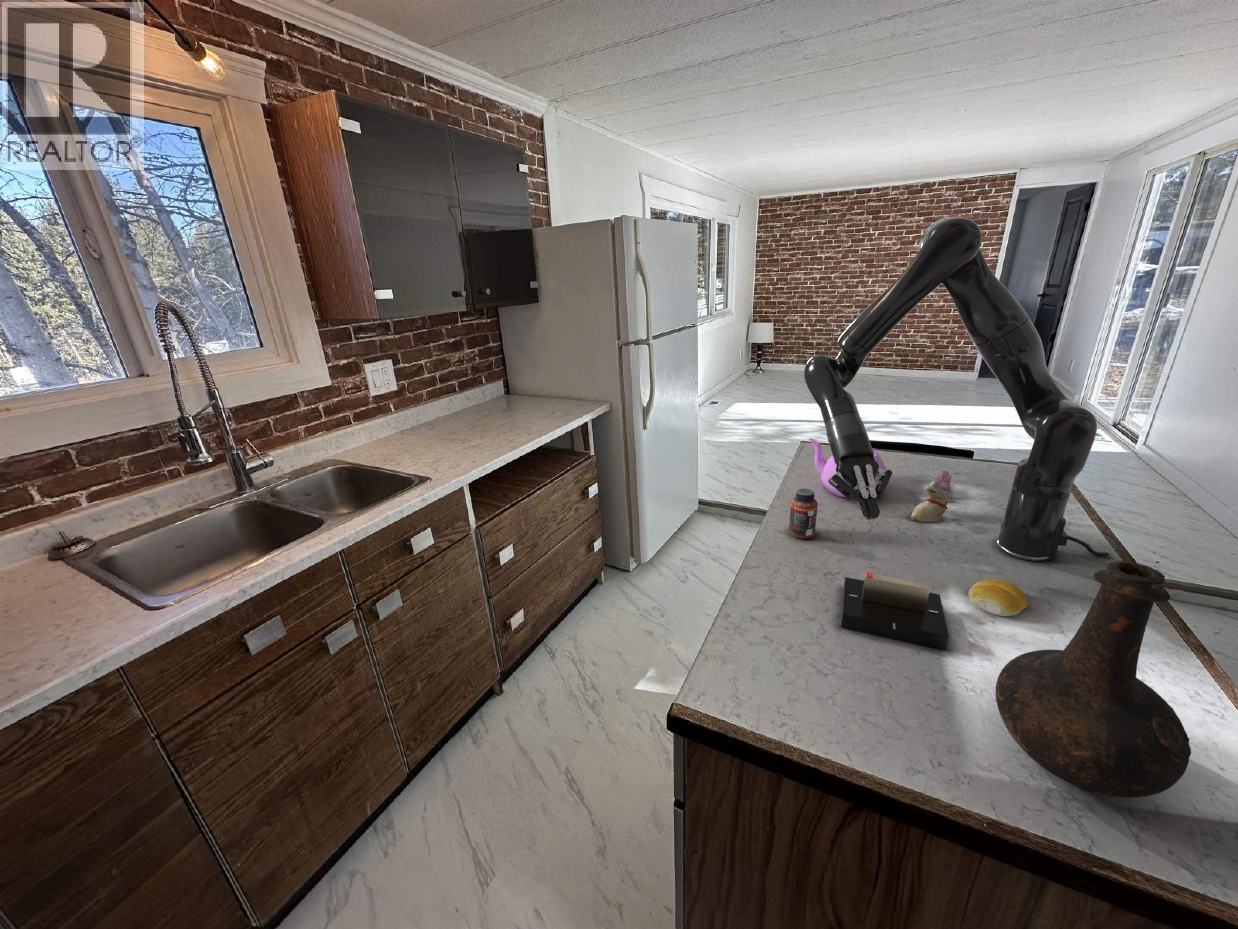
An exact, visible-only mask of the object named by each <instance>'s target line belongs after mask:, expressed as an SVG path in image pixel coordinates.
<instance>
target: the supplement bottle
mask: <svg viewBox="0 0 1238 929" xmlns="http://www.w3.org/2000/svg"><path fill="white" fill-rule="evenodd" d="M818 505H819V504H818V500H816V499H815V491H814V490H812V489H811V488H805V487H802V488H801V487H800V488H798V489H796V493H795V496H794V497H792V498H791V501H790V510H789V525H788V532H789V534H790V535H791V536H792V537H794V538H797V539H801V540H806V539H807V540H808V539H811V538H813V537H814V536H815V534H816V525H817V516H818Z"/></svg>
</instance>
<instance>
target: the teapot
mask: <svg viewBox="0 0 1238 929" xmlns="http://www.w3.org/2000/svg"><path fill="white" fill-rule="evenodd" d="M808 439H809V441H810V442H811V443H812V445H813V447H814V452H815V453H814V468H815V470H816V471H817V472H818V473H819V474H820V480H821V482H822V485H823V486H824V487H825V489H827V491H829V493H832V494H833V495H836V496H839V497H842V498H846V497H845V496H844V495H843V494H841V493H840V492H839V491H838V490H837V489H836V488H834V487H833V486H832V485H831V484H830V483H829V482H828V480H829V479H830V478H831V477H832V476H833V475H835V474H836V467H837V465H836V463H835V461H834V458H833V455H832V454H831V456H830V457H829V458H828V460H826V459H825V458H824V455H823V454H824V453H823V446H822V444H821V442H820V441H818V440H816V439H814V438H810V437H809V438H808ZM873 453H874V459H875V461H876V462H877V463H878V464H879V468H881V469H883V470H885V471H887V470H888V469H887V467H886V464H885V463H884V461H883V458H882V457H881V455H880V454H879V453H878V452H877V451H876V450H875V449H873ZM844 481H845V480H844ZM874 481H875V487H876V484H877V482H878V480H877V474H876V477H875V479H874ZM845 482H846V481H845ZM888 487H889V484H888V485H887V487H886V489H885V491H886V490H887V488H888Z"/></svg>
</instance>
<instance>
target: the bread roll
mask: <svg viewBox="0 0 1238 929" xmlns="http://www.w3.org/2000/svg"><path fill="white" fill-rule="evenodd" d="M968 598H969V600H970V601H971V603H972V604H973V605H975V606H976V607H978V608H979V609H981V610H984V611H985V612H987V613H989V614H992V615H995V616H999V617H1013V616H1016V615H1019V614H1020V613H1021V612H1022V611H1023V610H1024V609H1026V608H1027V607H1028V604H1029V603H1028V602H1029V601H1028V597H1027V595H1026V593H1024V591H1023V590H1022V588H1020V587H1018V586H1017V585H1015V584H1013V583H1011V582H1010V581H1007V580H1003V579H999V578H998V579H997V578H991V579H983V580H980V581H978V582H976V583H975V584H973V585H972V586H971V587H970V588H969V591H968Z"/></svg>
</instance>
